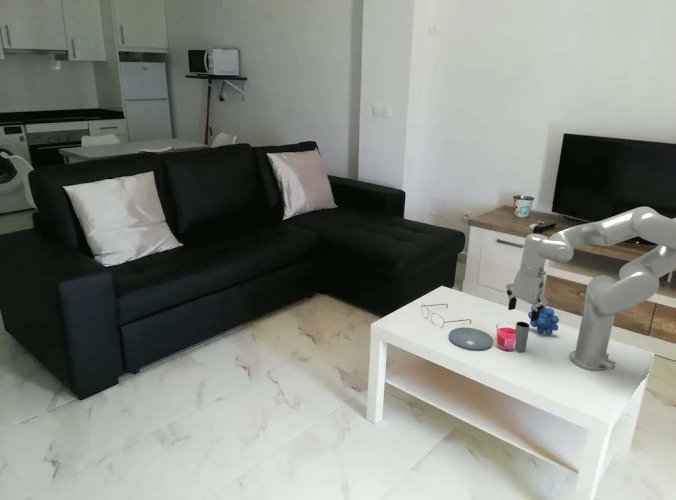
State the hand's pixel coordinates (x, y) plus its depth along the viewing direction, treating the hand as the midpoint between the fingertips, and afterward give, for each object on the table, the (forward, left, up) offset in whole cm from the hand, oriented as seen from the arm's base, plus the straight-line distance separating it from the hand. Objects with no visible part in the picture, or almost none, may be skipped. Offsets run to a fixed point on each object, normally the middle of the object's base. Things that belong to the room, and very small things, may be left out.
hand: (522, 314), depth 185 cm
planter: (-1, 0, -14) cm, 14 cm away
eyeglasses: (+32, +5, -15) cm, 36 cm away
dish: (+13, +10, -14) cm, 22 cm away
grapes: (+3, -18, -14) cm, 24 cm away
